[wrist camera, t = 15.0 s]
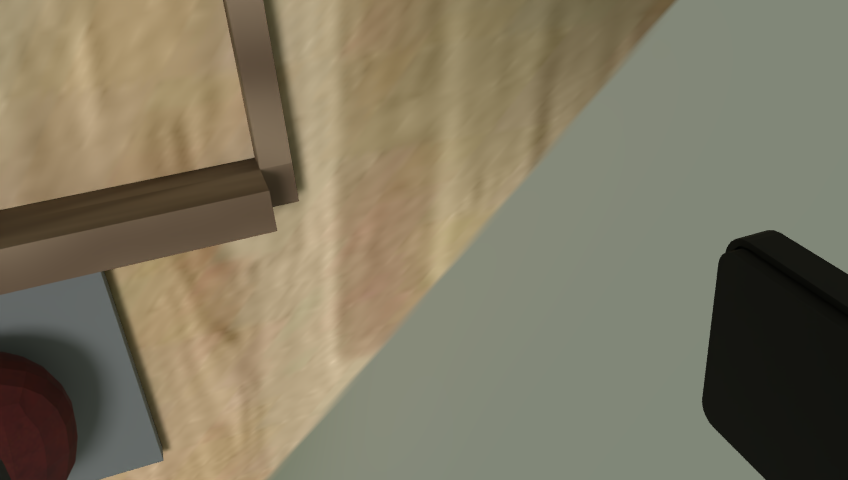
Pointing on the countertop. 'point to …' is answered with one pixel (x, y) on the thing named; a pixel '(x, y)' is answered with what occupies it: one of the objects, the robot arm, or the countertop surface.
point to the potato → (35, 422)
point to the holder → (165, 191)
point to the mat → (86, 370)
